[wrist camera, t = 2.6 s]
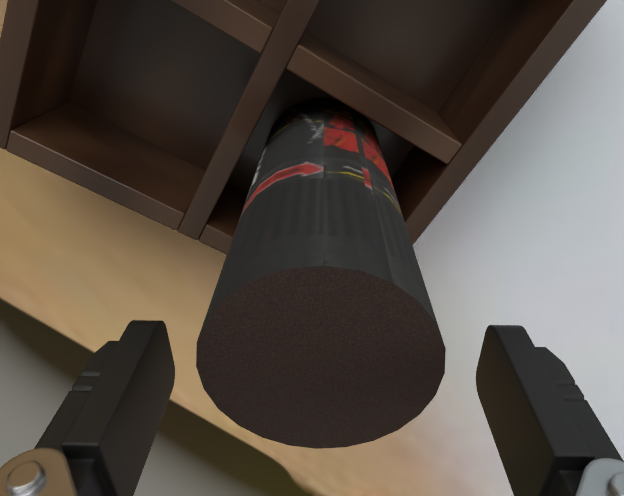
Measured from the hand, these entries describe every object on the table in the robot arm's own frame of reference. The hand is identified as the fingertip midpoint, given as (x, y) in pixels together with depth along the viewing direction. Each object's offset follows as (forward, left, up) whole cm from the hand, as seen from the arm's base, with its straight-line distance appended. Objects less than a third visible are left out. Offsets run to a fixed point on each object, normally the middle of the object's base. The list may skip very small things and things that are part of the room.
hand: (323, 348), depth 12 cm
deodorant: (0, 0, -15) cm, 15 cm away
